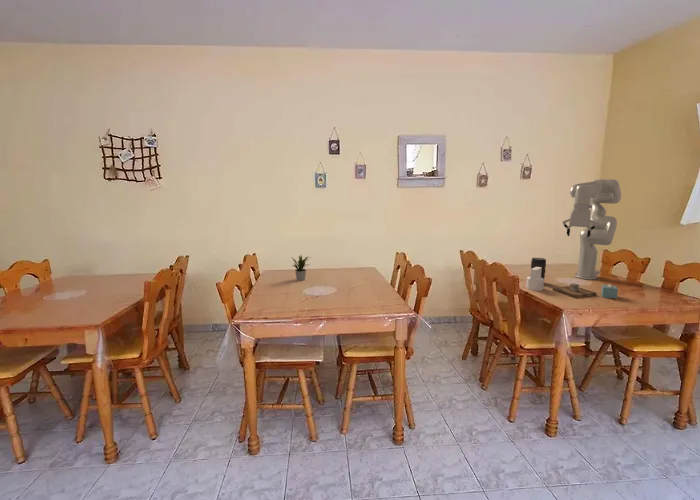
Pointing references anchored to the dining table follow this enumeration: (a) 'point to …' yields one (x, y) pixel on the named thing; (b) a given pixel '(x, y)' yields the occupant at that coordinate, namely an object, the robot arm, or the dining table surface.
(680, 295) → the dining table surface
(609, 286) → the teal tissue box
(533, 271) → the light grey stepped block
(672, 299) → the dining table surface
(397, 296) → the dining table surface
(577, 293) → the shaft block
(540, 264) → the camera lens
